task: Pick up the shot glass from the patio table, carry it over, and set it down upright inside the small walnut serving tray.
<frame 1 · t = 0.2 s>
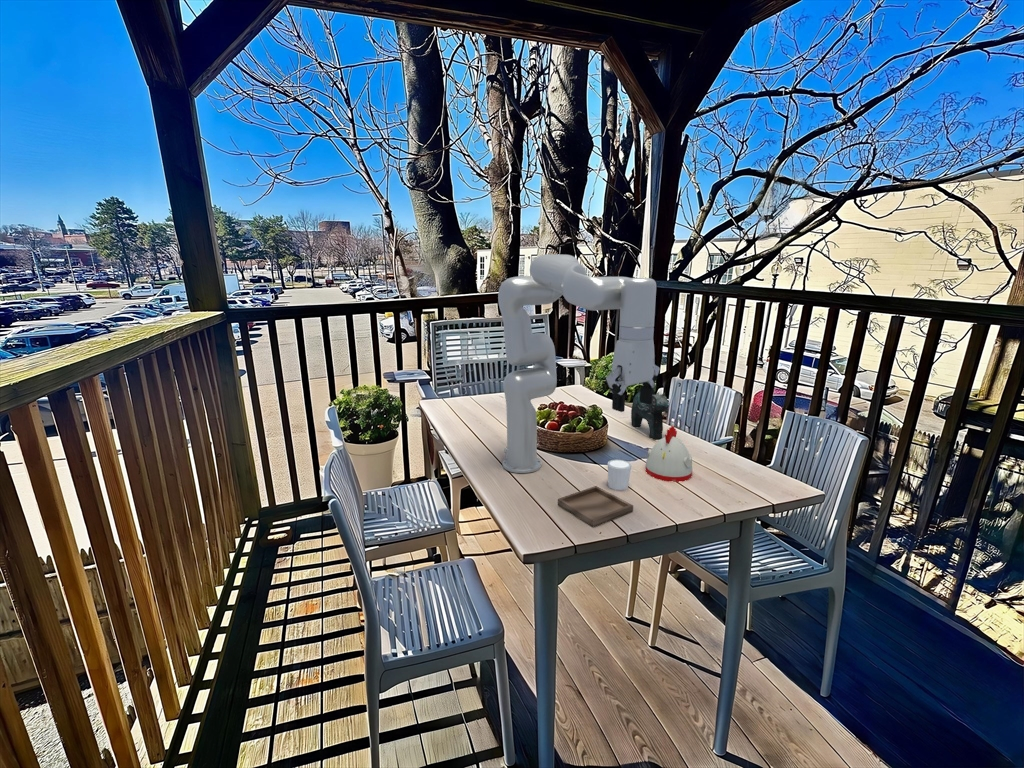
hand: (632, 406, 112), 31 cm above the table, tool pointing down, fingers open, 9 cm apart
shot glass: (618, 486, 140), on the table
kitchen timer: (668, 473, 149), on the table
walnut tray: (594, 508, 127), on the table
dark green animal figurine: (645, 433, 185), on the table
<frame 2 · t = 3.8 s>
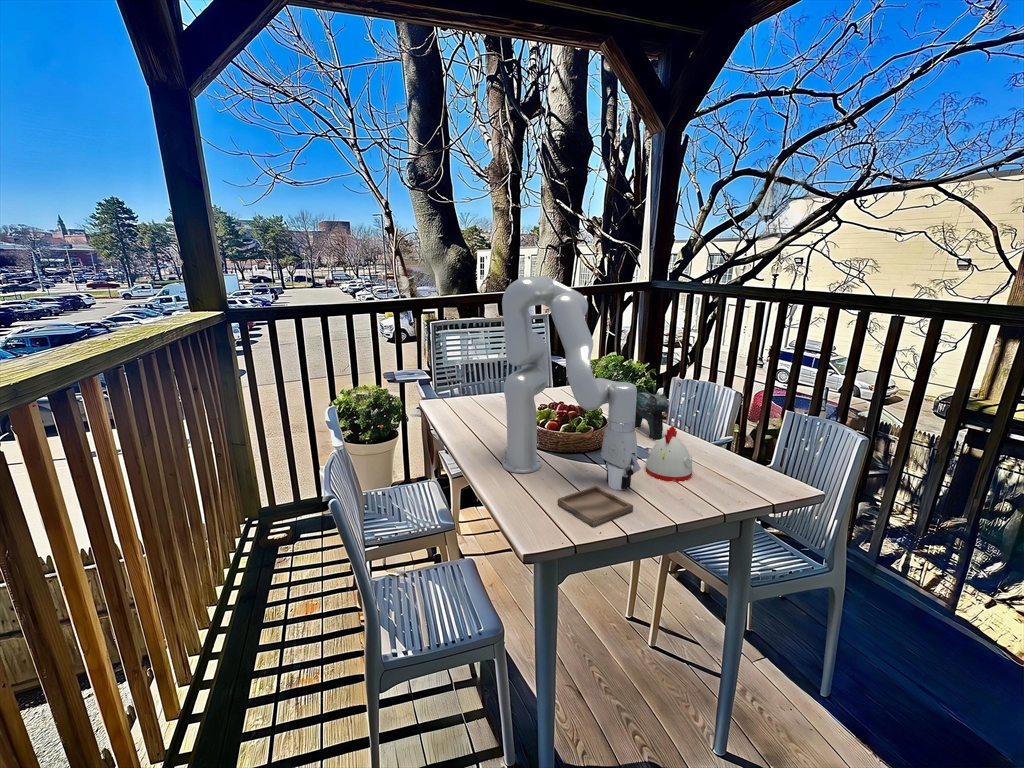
hand: (618, 483, 140), 1 cm above the table, tool pointing down, fingers closed on shot glass, 5 cm apart
shot glass: (618, 486, 140), on the table, touching gripper
everything else where it was.
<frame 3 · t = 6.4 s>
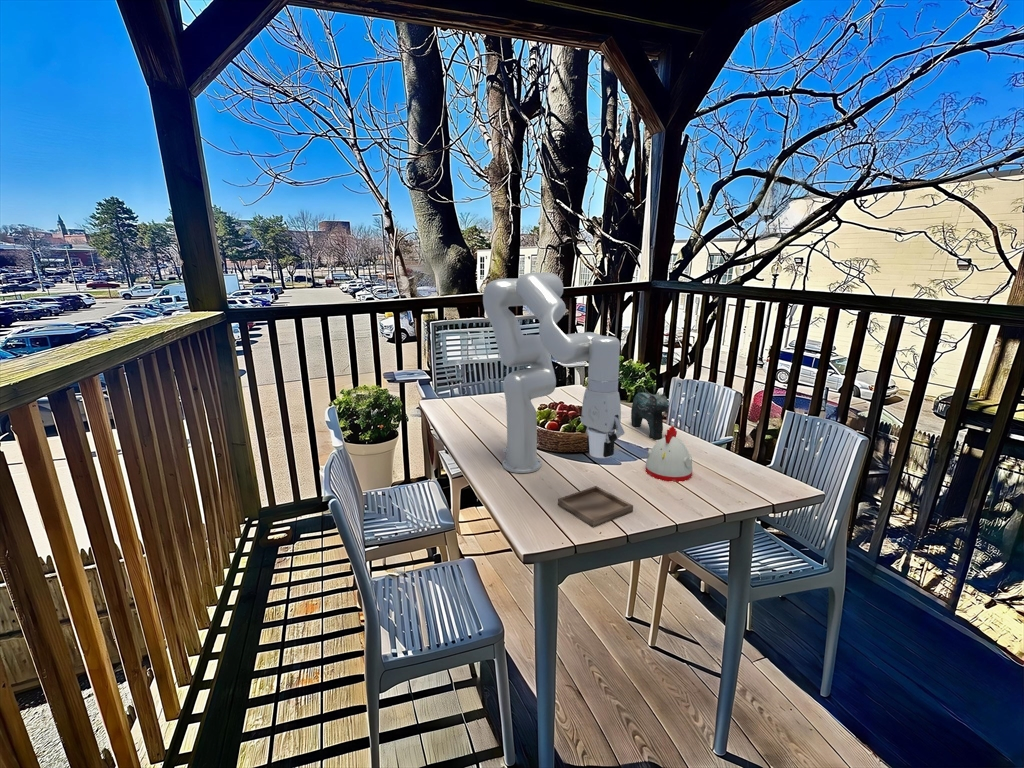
hand: (600, 451, 125), 15 cm above the table, tool pointing down, fingers closed on shot glass, 5 cm apart
shot glass: (600, 454, 125), point 15 cm above the table, touching gripper
everything else where it was.
when the fingers open (3 cm above the table, at t = 9.4 s): shot glass drops 2 cm, resting on walnut tray.
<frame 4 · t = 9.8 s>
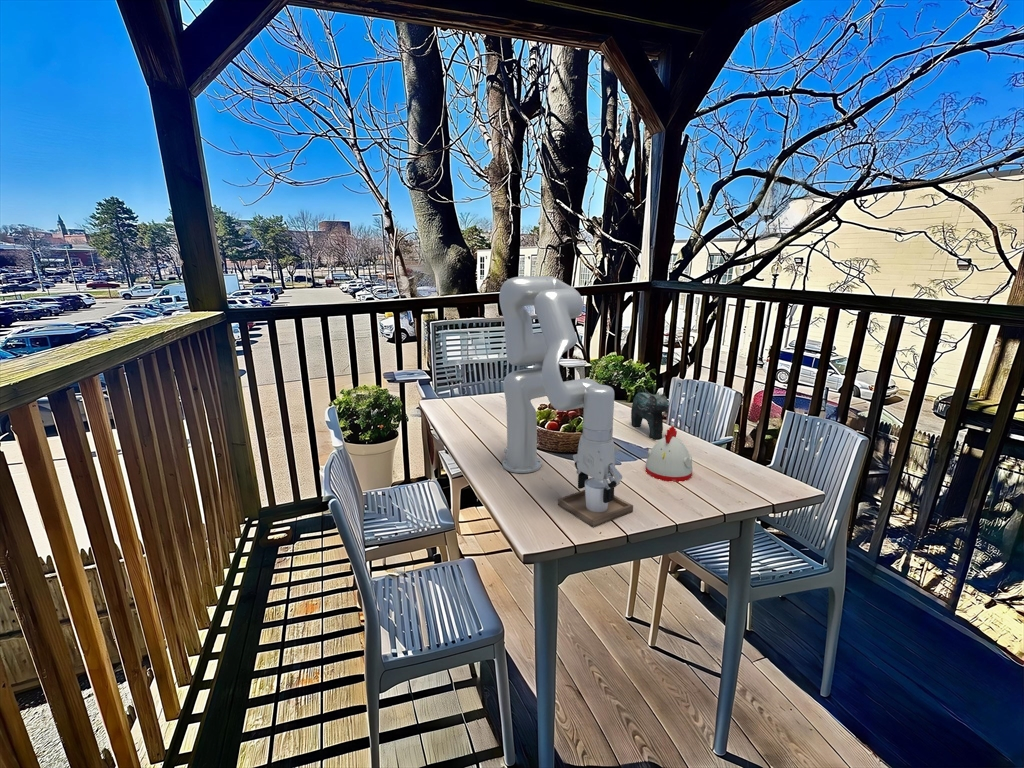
hand: (595, 494, 126), 4 cm above the table, tool pointing down, fingers open, 9 cm apart
shot glass: (596, 507, 127), resting on walnut tray
everything else where it was.
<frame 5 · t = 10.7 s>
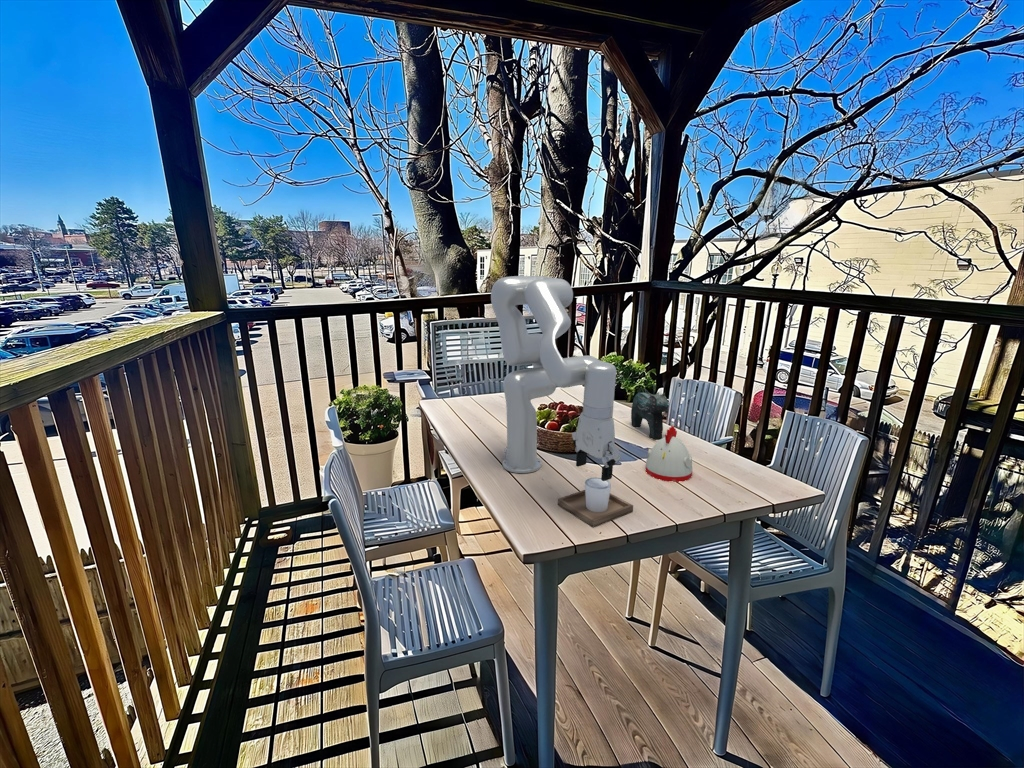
hand: (593, 472, 126), 10 cm above the table, tool pointing down, fingers open, 9 cm apart
nothing on the table moved.
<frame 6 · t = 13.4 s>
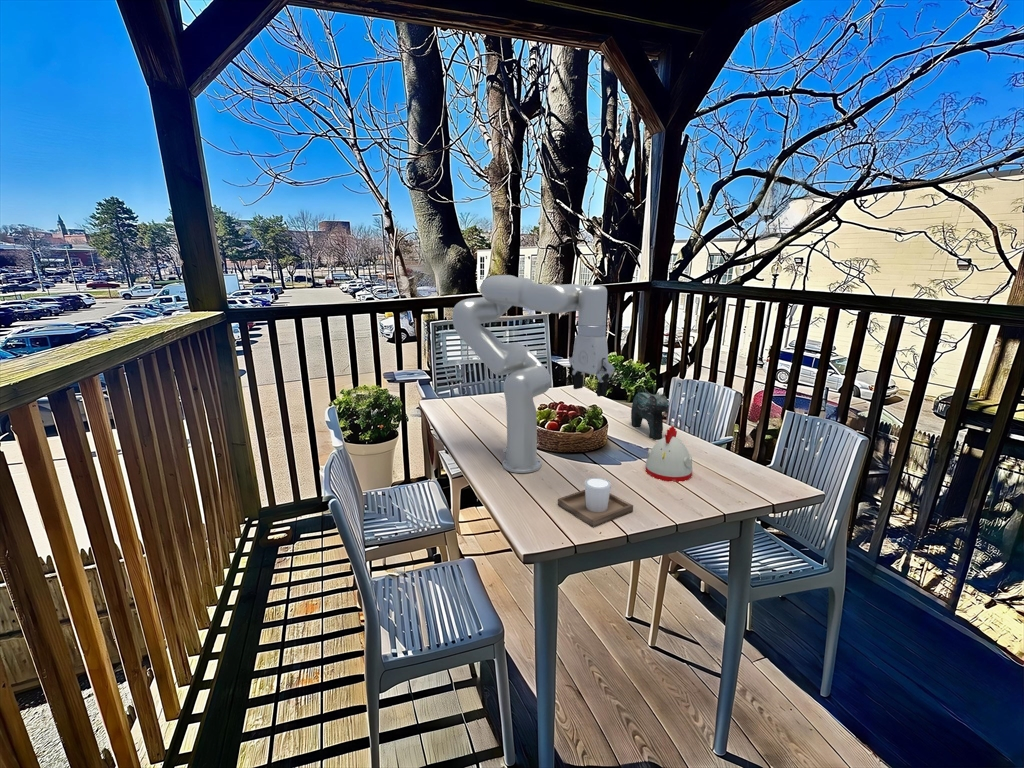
hand: (589, 391, 135), 28 cm above the table, tool pointing down, fingers open, 9 cm apart
nothing on the table moved.
at the end: shot glass inside the target area on the walnut tray (0.6 cm from its centre), point 0.4 cm above the walnut tray's base; shot glass tilted 0°; the gripper is holding nothing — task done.
